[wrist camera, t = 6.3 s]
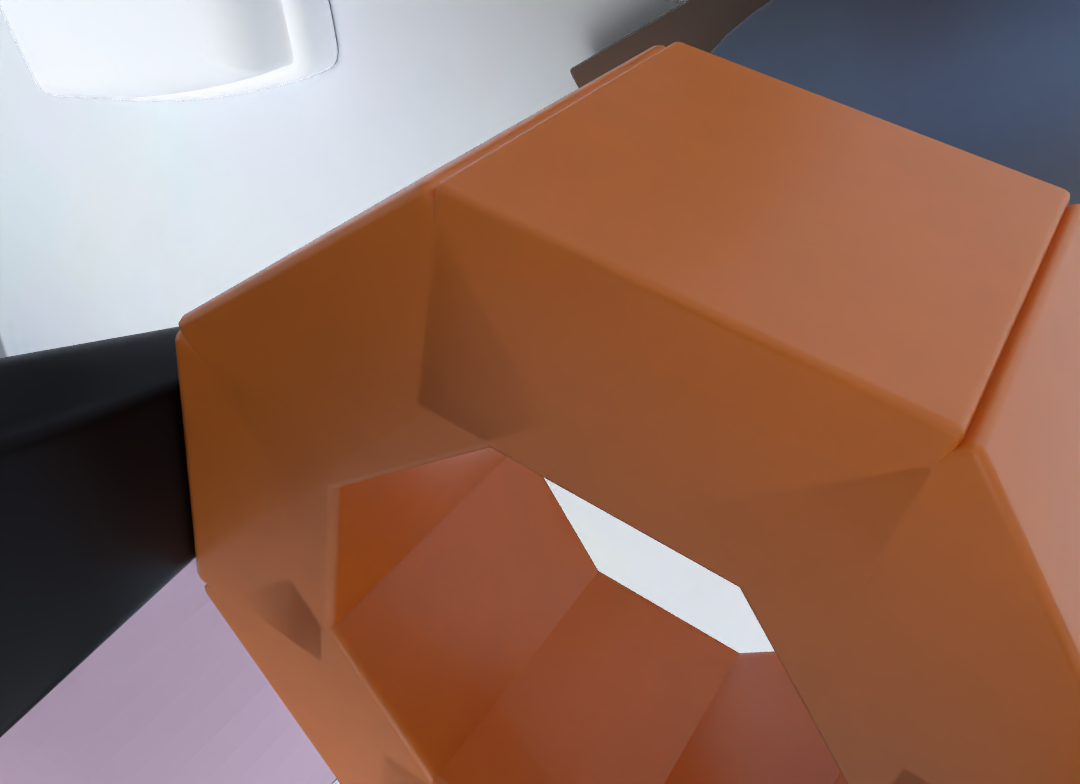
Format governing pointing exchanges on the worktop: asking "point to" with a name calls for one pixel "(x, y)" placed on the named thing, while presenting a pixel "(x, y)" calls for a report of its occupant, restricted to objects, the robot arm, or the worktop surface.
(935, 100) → the ring stand
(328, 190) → the worktop surface
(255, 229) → the worktop surface
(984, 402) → the orange ring
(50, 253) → the worktop surface
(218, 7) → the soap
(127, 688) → the blender
